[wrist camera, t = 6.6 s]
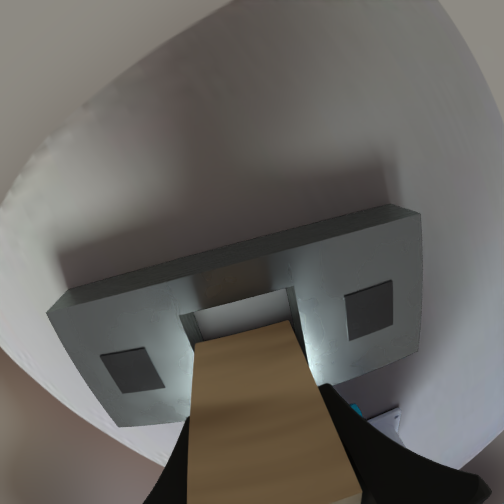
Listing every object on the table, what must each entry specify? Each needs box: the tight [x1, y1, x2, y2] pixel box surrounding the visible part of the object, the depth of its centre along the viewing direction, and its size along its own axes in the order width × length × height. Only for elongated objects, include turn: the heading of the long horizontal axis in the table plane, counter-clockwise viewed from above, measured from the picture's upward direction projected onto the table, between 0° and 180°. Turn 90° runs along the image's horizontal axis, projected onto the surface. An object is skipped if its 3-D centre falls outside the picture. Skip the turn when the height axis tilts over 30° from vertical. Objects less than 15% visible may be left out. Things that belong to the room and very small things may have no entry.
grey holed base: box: [46, 204, 423, 427], centre depth 16 cm, size 9×20×3 cm, turn 104°
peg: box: [187, 320, 362, 504], centre depth 9 cm, size 4×4×8 cm
